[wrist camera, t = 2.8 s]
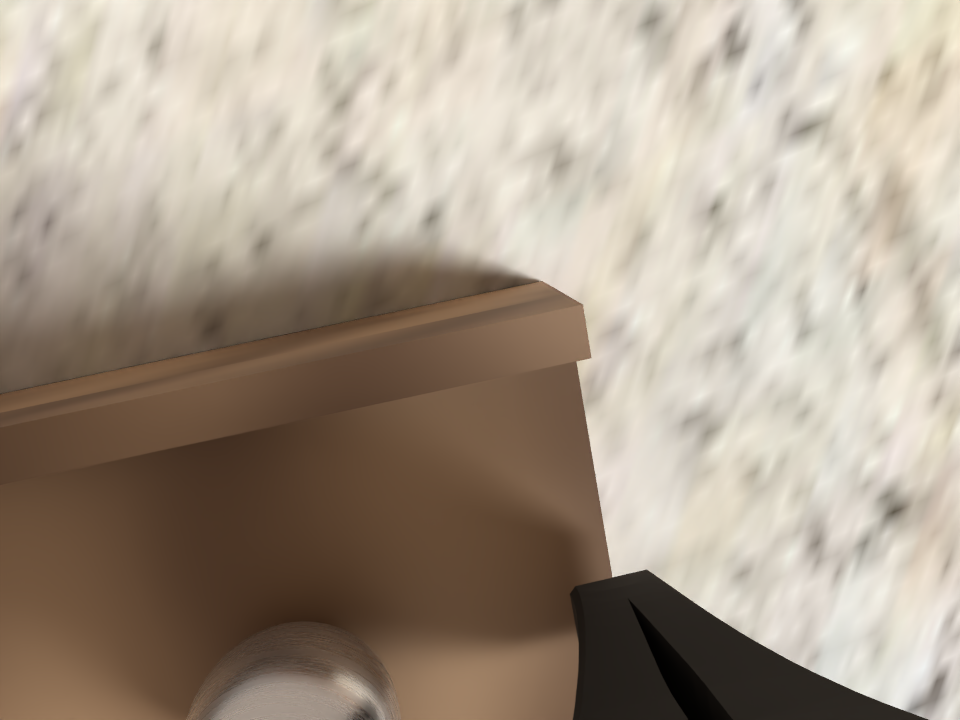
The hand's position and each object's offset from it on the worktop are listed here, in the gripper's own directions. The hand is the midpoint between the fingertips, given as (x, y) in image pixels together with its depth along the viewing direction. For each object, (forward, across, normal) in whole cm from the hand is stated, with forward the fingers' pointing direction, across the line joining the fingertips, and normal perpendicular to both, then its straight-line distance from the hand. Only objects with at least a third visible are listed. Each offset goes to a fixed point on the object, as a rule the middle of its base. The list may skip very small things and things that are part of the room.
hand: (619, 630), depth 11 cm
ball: (-1, +5, 0) cm, 5 cm away
